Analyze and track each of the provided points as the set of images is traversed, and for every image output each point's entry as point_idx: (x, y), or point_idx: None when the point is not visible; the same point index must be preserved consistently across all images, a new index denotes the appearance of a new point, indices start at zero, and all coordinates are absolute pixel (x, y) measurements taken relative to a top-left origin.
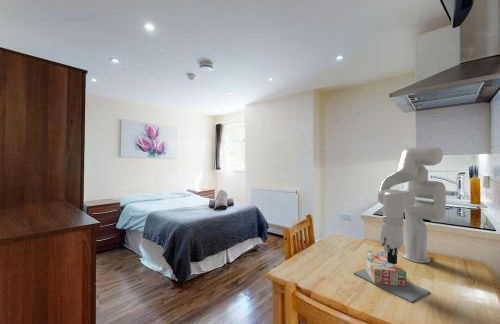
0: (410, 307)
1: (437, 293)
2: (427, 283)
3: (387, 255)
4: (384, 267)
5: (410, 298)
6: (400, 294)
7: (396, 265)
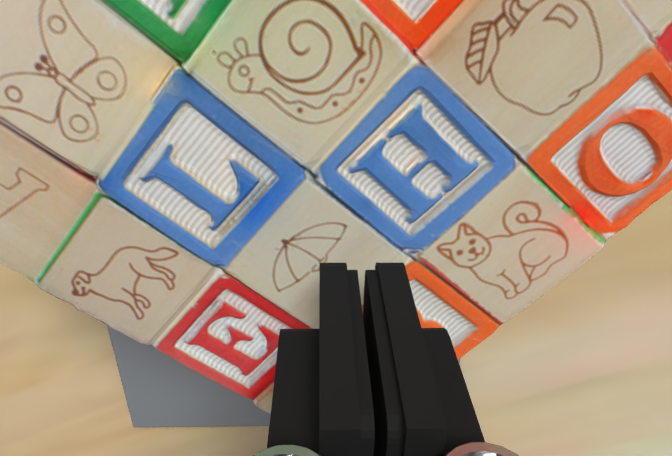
0: (72, 435)
1: (487, 435)
2: (630, 344)
3: (322, 358)
4: (151, 258)
5: (165, 409)
6: (138, 353)
7: (448, 306)
